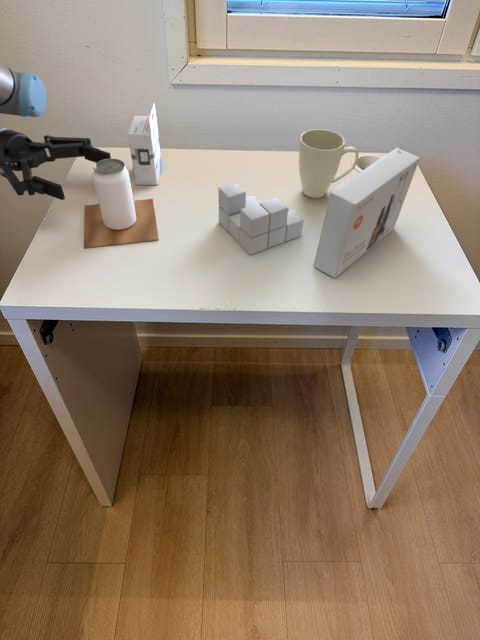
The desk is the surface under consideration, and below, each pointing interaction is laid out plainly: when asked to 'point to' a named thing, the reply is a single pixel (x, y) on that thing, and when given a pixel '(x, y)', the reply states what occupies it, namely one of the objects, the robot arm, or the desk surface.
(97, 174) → the can
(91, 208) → the wooden coaster
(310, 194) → the mug
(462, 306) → the desk surface
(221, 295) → the desk surface
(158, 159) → the ink box
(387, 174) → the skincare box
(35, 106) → the robot arm
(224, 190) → the stacked white cubes
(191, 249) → the desk surface
